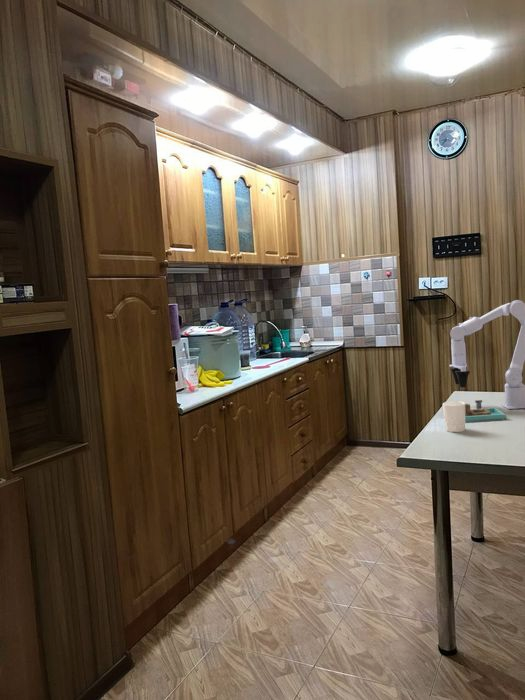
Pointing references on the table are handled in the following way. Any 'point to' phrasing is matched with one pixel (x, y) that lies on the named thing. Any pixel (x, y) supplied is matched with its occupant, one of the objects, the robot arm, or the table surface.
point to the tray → (487, 416)
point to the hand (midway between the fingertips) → (460, 385)
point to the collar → (475, 411)
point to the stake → (478, 404)
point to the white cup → (454, 416)
